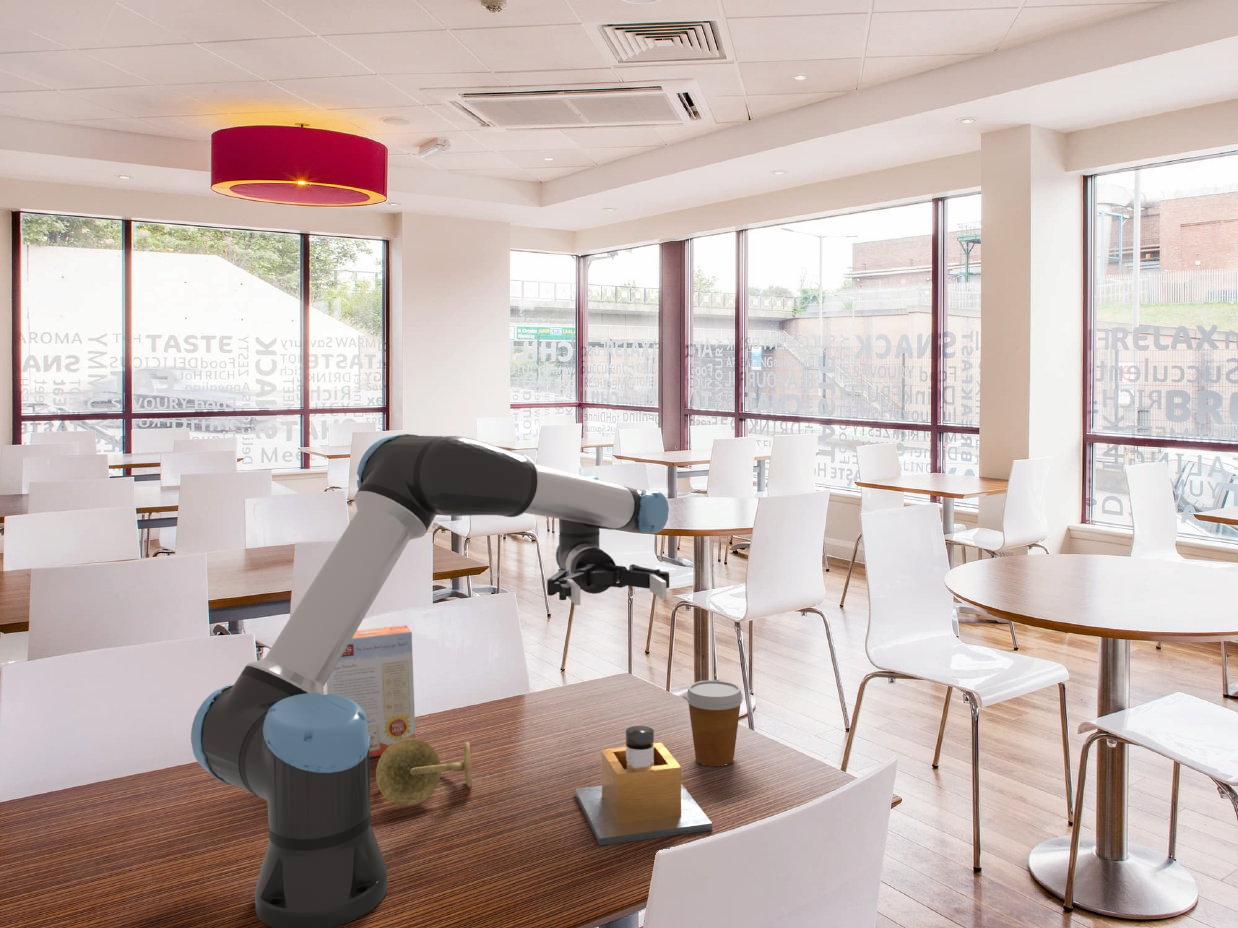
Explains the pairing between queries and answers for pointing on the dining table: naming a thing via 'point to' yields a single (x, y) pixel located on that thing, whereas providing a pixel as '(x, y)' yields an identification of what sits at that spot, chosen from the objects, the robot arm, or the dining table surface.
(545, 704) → the dining table surface
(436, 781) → the wall sconce
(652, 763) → the capped glass tube
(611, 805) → the yellow open box
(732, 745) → the disposable coffee cup
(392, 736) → the cracker box
